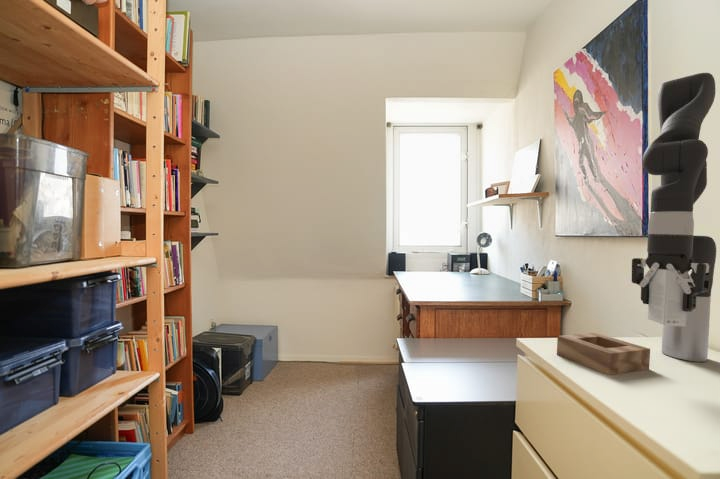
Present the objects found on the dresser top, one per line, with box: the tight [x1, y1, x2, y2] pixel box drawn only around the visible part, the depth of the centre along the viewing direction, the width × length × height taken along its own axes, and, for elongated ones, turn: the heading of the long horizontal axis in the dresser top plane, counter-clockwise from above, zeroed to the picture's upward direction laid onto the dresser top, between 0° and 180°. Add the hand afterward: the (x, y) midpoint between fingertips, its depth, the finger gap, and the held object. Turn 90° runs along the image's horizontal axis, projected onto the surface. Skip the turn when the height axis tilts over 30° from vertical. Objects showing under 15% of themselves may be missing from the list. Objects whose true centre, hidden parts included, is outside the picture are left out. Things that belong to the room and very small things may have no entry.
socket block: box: [556, 332, 651, 376], centre depth 90 cm, size 14×14×5 cm
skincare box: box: [647, 269, 689, 326], centre depth 78 cm, size 6×4×12 cm
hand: (666, 307), depth 78 cm, fingers closed on skincare box, 7 cm apart
